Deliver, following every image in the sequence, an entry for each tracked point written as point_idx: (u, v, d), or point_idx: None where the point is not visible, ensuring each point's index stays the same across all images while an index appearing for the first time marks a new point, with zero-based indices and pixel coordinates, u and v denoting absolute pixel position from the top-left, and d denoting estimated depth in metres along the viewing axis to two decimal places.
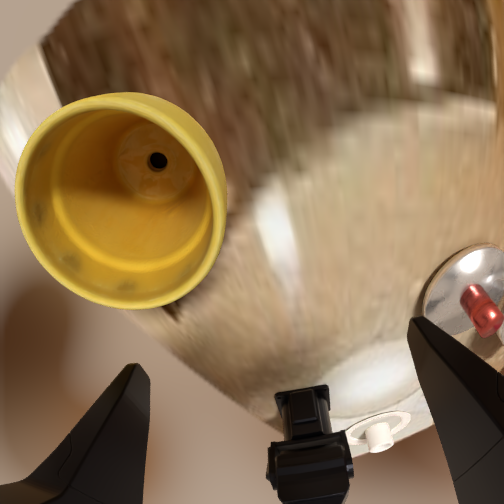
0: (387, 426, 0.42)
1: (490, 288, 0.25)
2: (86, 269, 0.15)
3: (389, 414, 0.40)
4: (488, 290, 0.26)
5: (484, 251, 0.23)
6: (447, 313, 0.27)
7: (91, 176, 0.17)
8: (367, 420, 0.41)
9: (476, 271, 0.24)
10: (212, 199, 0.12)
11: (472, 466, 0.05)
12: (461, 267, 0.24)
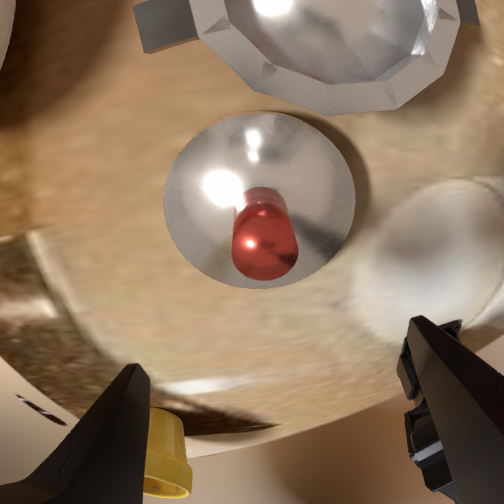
0: None
1: (247, 167, 0.17)
2: None
3: None
4: (252, 172, 0.17)
5: (169, 225, 0.18)
6: None
7: None
8: None
9: (208, 223, 0.18)
10: None
11: (472, 466, 0.05)
12: (201, 257, 0.20)
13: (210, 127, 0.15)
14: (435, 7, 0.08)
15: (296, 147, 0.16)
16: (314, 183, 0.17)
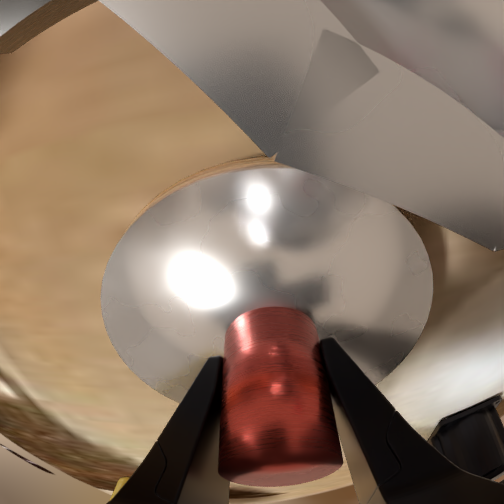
0: None
1: (247, 276, 0.09)
2: None
3: None
4: (258, 283, 0.09)
5: (121, 351, 0.10)
6: None
7: None
8: None
9: (181, 354, 0.10)
10: None
11: (367, 503, 0.05)
12: (176, 390, 0.12)
13: (168, 199, 0.07)
14: None
15: (348, 239, 0.08)
16: (370, 297, 0.09)
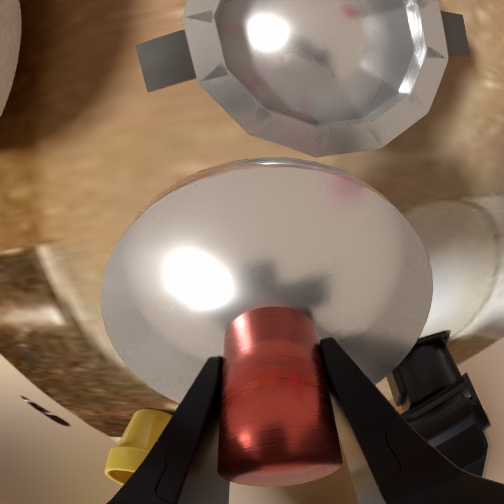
0: None
1: (246, 276, 0.09)
2: None
3: None
4: (257, 283, 0.09)
5: (120, 351, 0.10)
6: None
7: None
8: None
9: (181, 354, 0.10)
10: (129, 471, 0.25)
11: (367, 503, 0.05)
12: (176, 390, 0.12)
13: (167, 199, 0.07)
14: (424, 46, 0.10)
15: (347, 239, 0.08)
16: (369, 297, 0.09)
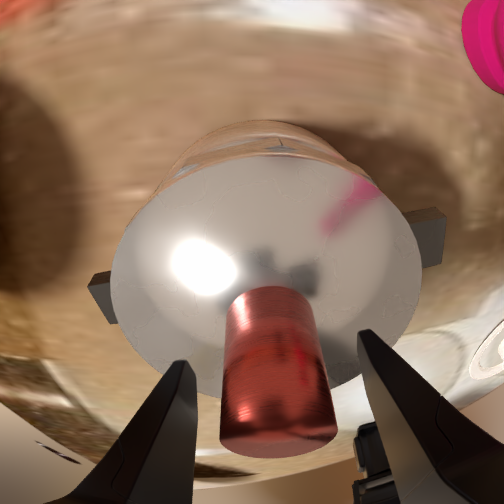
0: None
1: (247, 256, 0.09)
2: None
3: (482, 349, 0.24)
4: (257, 263, 0.10)
5: (127, 332, 0.11)
6: None
7: None
8: (473, 369, 0.26)
9: (185, 334, 0.11)
10: None
11: (412, 491, 0.05)
12: None
13: (175, 185, 0.08)
14: None
15: (339, 222, 0.09)
16: (362, 278, 0.10)
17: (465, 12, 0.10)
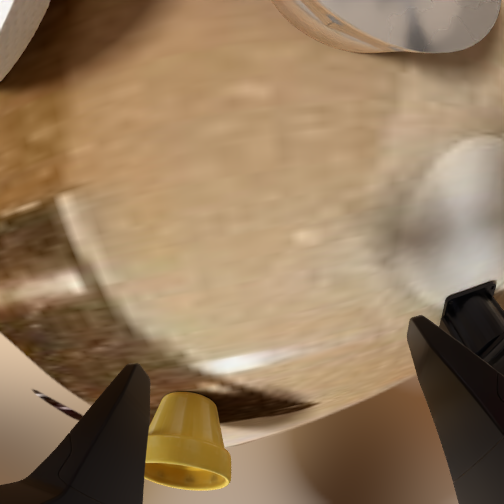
0: None
1: None
2: (219, 475, 0.28)
3: None
4: None
5: None
6: None
7: None
8: None
9: None
10: (163, 462, 0.23)
11: (472, 466, 0.05)
12: None
13: None
14: None
15: None
16: None
17: None
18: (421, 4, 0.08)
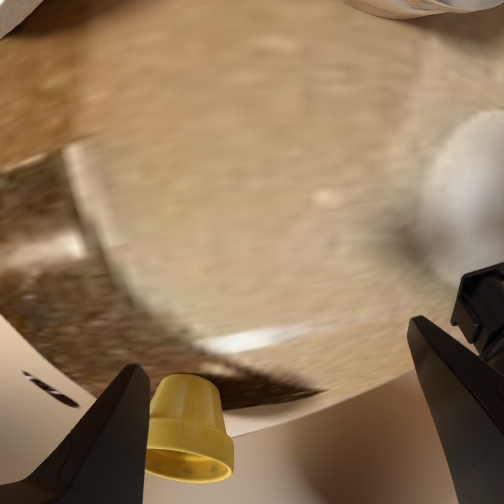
0: None
1: None
2: (219, 465, 0.27)
3: None
4: None
5: None
6: None
7: None
8: None
9: None
10: (160, 448, 0.22)
11: (472, 466, 0.05)
12: None
13: None
14: None
15: None
16: None
17: None
18: None
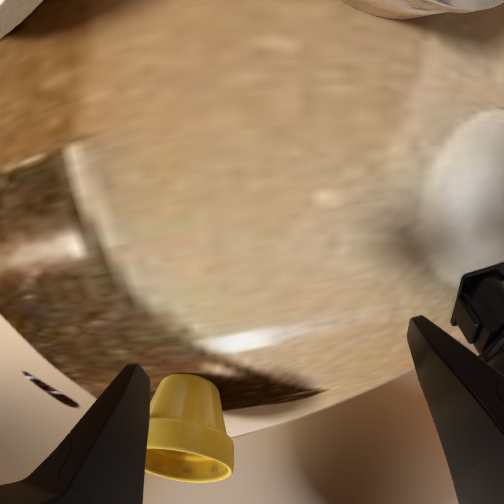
0: None
1: None
2: (219, 465, 0.27)
3: None
4: None
5: None
6: None
7: None
8: None
9: None
10: (161, 448, 0.22)
11: (472, 466, 0.05)
12: None
13: None
14: None
15: None
16: None
17: None
18: None
